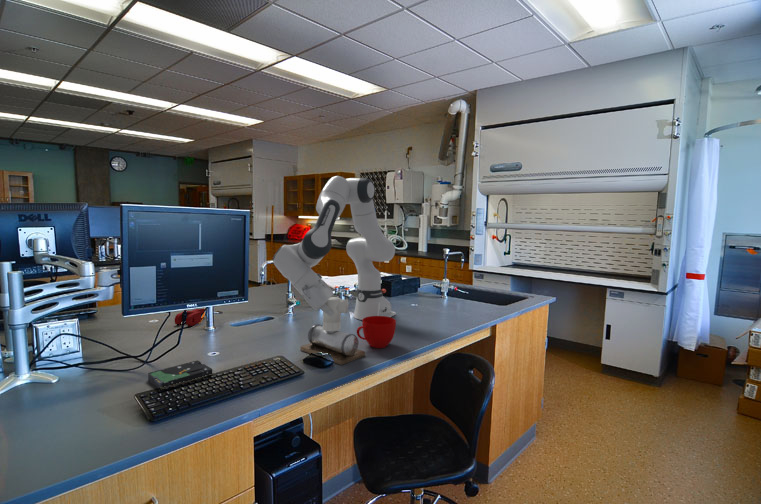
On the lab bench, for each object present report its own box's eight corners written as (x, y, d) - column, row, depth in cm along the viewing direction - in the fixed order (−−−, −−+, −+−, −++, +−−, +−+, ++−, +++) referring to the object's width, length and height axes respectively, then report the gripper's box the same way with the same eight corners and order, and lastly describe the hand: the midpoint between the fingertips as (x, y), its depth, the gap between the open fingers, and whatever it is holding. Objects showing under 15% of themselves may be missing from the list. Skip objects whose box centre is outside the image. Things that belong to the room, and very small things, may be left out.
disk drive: (197, 368, 128) (147, 381, 117) (197, 359, 128) (147, 372, 117) (213, 377, 122) (161, 392, 110) (213, 368, 121) (161, 382, 110)
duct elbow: (325, 325, 146) (325, 296, 145) (348, 327, 146) (348, 297, 144) (321, 330, 140) (321, 300, 139) (345, 332, 139) (345, 301, 138)
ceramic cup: (346, 345, 152) (347, 320, 151) (380, 338, 163) (381, 314, 162) (367, 355, 142) (368, 328, 141) (402, 346, 153) (402, 321, 152)
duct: (324, 342, 155) (325, 312, 154) (364, 355, 142) (365, 323, 141) (300, 350, 146) (300, 318, 144) (341, 365, 133) (342, 330, 131)
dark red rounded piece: (190, 327, 171) (189, 316, 170) (174, 326, 172) (174, 315, 171) (210, 317, 186) (210, 307, 186) (196, 317, 187) (196, 306, 187)
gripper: (307, 282, 131) (335, 312, 132) (320, 273, 152) (345, 299, 152) (293, 295, 132) (322, 325, 132) (309, 284, 152) (333, 310, 153)
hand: (334, 311), depth 142 cm, fingers open, 8 cm apart
